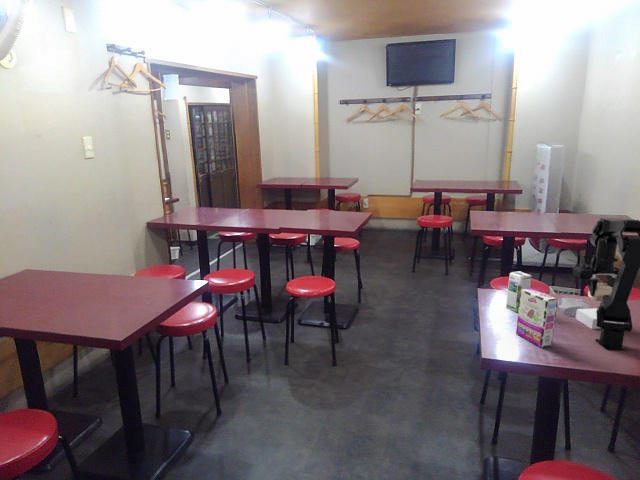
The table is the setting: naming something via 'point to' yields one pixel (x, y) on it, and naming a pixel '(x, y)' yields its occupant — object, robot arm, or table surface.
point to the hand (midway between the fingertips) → (599, 295)
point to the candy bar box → (536, 317)
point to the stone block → (571, 305)
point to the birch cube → (601, 291)
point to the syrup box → (516, 289)
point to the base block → (589, 317)
